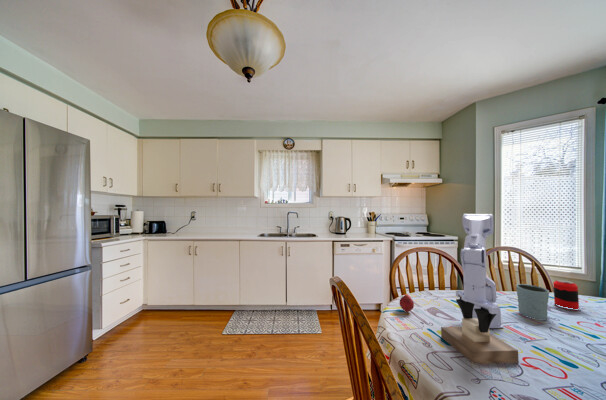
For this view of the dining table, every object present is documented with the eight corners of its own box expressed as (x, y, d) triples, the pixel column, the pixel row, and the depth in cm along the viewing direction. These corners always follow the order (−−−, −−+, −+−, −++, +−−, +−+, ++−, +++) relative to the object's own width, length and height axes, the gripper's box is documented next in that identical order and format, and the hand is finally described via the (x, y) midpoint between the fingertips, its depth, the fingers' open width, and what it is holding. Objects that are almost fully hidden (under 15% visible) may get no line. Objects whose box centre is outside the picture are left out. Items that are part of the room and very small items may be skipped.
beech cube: (476, 333, 75) (476, 318, 76) (489, 341, 70) (489, 325, 71) (462, 333, 75) (462, 318, 75) (474, 342, 70) (474, 325, 70)
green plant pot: (523, 309, 103) (522, 282, 104) (555, 318, 94) (553, 289, 95) (512, 313, 99) (511, 285, 100) (544, 323, 90) (543, 293, 91)
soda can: (558, 308, 105) (557, 282, 105) (551, 302, 111) (550, 278, 112) (582, 312, 101) (581, 285, 101) (574, 306, 107) (572, 280, 108)
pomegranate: (415, 315, 95) (415, 296, 96) (401, 314, 97) (401, 295, 97) (411, 310, 101) (411, 292, 102) (398, 308, 102) (398, 291, 103)
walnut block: (478, 337, 80) (478, 326, 80) (518, 364, 66) (518, 350, 66) (441, 338, 79) (441, 327, 79) (473, 365, 65) (473, 351, 65)
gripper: (447, 278, 81) (448, 316, 80) (481, 292, 66) (483, 339, 65) (465, 278, 81) (467, 316, 80) (503, 292, 67) (505, 339, 66)
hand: (475, 326), depth 73 cm, fingers open, 6 cm apart
